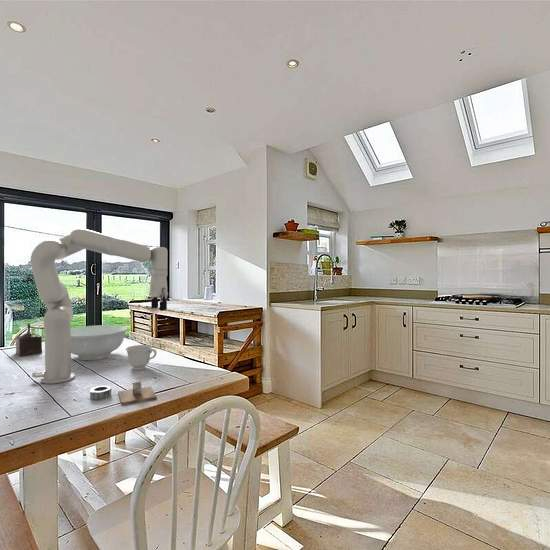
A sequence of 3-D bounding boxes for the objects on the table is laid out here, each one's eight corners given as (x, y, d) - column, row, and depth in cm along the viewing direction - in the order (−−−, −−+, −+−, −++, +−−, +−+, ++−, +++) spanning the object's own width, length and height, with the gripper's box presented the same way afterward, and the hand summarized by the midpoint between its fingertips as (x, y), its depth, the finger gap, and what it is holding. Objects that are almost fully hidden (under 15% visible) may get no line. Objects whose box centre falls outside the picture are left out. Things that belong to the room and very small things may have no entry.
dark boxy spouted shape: (19, 357, 183) (19, 323, 183) (15, 353, 191) (15, 320, 190) (53, 351, 195) (53, 320, 194) (48, 348, 202) (47, 317, 202)
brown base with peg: (121, 405, 123) (121, 389, 123) (118, 394, 133) (118, 379, 133) (156, 399, 129) (156, 384, 128) (150, 388, 139) (150, 375, 139)
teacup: (149, 373, 158) (149, 351, 158) (120, 371, 161) (120, 349, 161) (162, 366, 170) (162, 346, 170) (135, 364, 173) (135, 344, 173)
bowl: (69, 351, 197) (69, 325, 197) (130, 347, 206) (130, 323, 206) (50, 367, 166) (49, 337, 166) (123, 362, 175) (122, 334, 175)
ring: (90, 401, 126) (90, 393, 125) (89, 395, 132) (89, 387, 132) (111, 398, 129) (111, 390, 129) (110, 392, 135) (110, 384, 135)
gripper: (144, 272, 168) (144, 307, 169) (158, 273, 155) (158, 311, 156) (159, 272, 173) (159, 306, 174) (174, 273, 160) (174, 310, 161)
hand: (158, 309), depth 165 cm, fingers open, 9 cm apart
